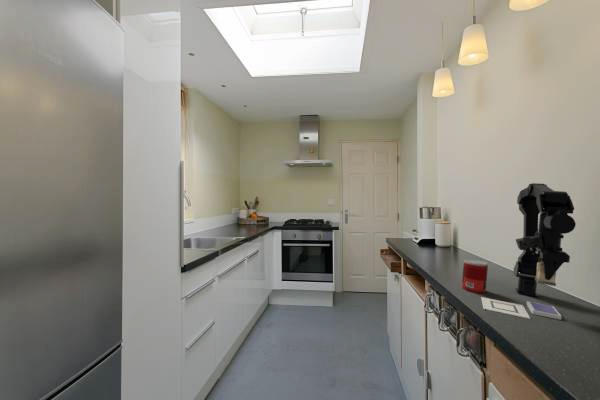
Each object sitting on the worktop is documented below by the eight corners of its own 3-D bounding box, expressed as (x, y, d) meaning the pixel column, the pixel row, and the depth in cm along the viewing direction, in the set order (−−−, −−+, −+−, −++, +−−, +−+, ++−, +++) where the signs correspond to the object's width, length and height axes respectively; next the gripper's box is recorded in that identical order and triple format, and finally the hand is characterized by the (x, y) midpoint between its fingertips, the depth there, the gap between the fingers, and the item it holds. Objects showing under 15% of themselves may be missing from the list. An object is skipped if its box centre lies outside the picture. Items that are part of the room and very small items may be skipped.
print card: (481, 297, 104) (481, 296, 104) (522, 306, 98) (522, 304, 98) (483, 309, 94) (483, 308, 94) (530, 319, 88) (530, 317, 88)
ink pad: (526, 304, 100) (526, 300, 100) (552, 309, 96) (553, 305, 96) (532, 313, 92) (532, 309, 92) (561, 319, 89) (561, 315, 88)
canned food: (489, 294, 108) (491, 265, 108) (465, 291, 110) (468, 263, 110) (480, 287, 116) (483, 260, 115) (459, 285, 117) (461, 258, 117)
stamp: (534, 279, 97) (536, 258, 97) (551, 282, 95) (553, 260, 94) (537, 283, 93) (539, 261, 93) (555, 286, 91) (557, 263, 91)
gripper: (514, 224, 105) (510, 267, 106) (524, 229, 89) (520, 280, 90) (554, 228, 100) (550, 273, 100) (572, 234, 84) (567, 287, 84)
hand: (545, 277), depth 94 cm, fingers closed on stamp, 4 cm apart
